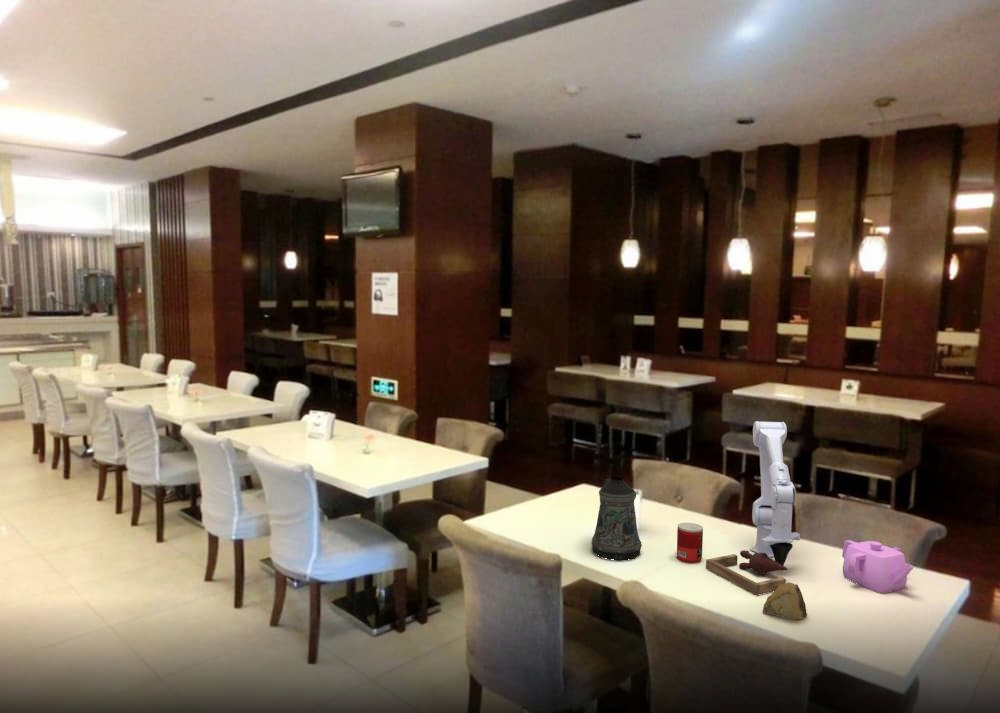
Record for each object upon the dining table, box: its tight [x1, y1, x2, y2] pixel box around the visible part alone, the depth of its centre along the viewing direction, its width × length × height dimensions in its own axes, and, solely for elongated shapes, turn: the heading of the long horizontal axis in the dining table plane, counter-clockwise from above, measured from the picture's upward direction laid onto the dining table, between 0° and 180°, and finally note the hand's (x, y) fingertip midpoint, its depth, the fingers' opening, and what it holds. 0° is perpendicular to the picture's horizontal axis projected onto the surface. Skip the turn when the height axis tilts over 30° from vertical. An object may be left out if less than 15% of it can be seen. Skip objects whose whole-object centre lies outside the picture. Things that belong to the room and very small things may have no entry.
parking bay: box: [705, 553, 787, 596], centre depth 206 cm, size 12×21×3 cm, turn 24°
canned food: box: [676, 522, 704, 564], centre depth 220 cm, size 8×8×11 cm
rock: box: [762, 582, 808, 620], centre depth 183 cm, size 11×9×10 cm
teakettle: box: [841, 539, 914, 594], centre depth 203 cm, size 17×17×12 cm
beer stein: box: [591, 475, 642, 561], centre depth 227 cm, size 16×19×25 cm
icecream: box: [738, 549, 788, 576], centre depth 209 cm, size 7×7×15 cm
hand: (779, 565), depth 212 cm, fingers closed
